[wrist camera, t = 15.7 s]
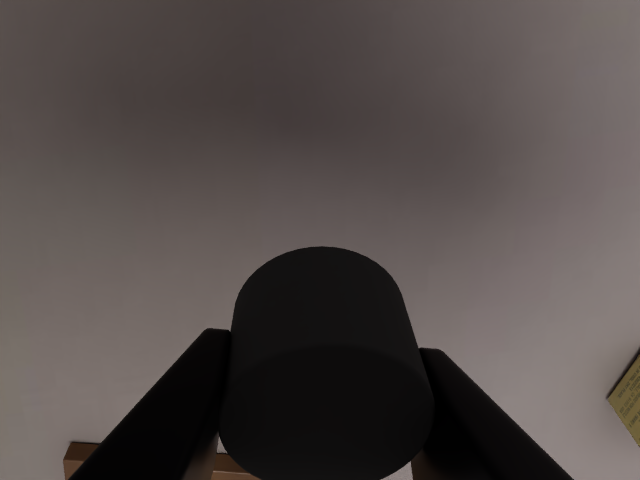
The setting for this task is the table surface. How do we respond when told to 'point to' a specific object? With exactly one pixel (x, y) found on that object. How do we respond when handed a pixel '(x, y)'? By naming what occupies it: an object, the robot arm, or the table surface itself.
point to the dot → (323, 372)
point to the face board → (225, 476)
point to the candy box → (629, 400)
